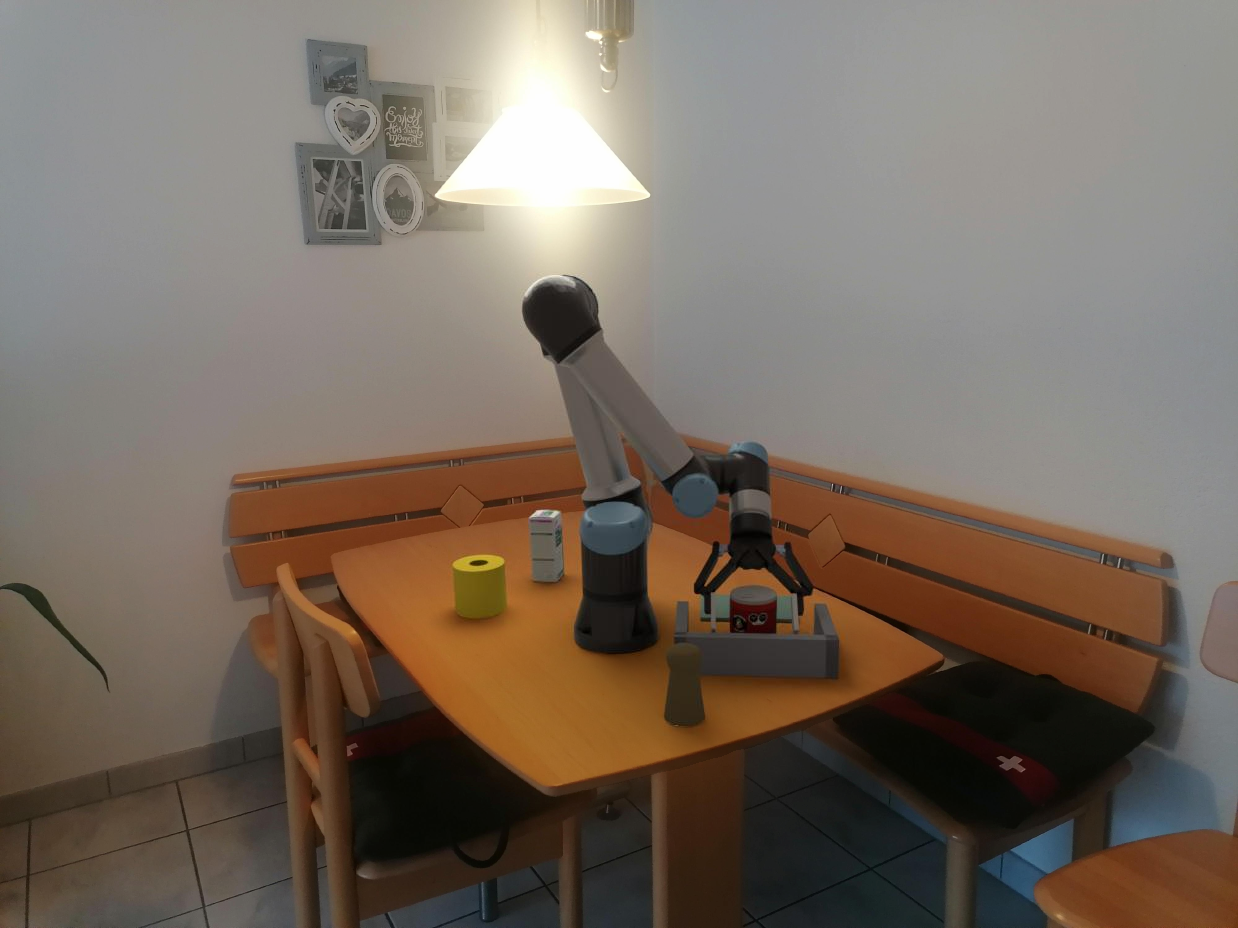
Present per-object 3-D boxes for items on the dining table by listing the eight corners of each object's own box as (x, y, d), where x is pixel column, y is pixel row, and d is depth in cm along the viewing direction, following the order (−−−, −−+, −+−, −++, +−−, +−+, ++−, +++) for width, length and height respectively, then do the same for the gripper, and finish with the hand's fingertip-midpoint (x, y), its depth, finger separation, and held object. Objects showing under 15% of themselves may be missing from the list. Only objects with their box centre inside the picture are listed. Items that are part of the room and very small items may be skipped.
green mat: (700, 620, 159) (700, 617, 159) (700, 596, 171) (700, 594, 171) (797, 622, 158) (797, 619, 157) (791, 598, 169) (791, 595, 169)
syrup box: (557, 582, 181) (555, 517, 178) (531, 581, 182) (528, 516, 179) (564, 573, 186) (562, 509, 183) (538, 572, 188) (536, 509, 184)
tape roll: (498, 595, 174) (496, 552, 172) (513, 612, 165) (510, 566, 163) (450, 604, 170) (447, 559, 168) (462, 621, 161) (459, 574, 159)
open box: (674, 674, 138) (674, 636, 137) (677, 635, 153) (677, 601, 152) (838, 678, 135) (839, 640, 134) (825, 638, 150) (826, 603, 149)
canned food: (720, 654, 145) (720, 593, 142) (748, 640, 150) (749, 581, 148) (756, 668, 139) (757, 605, 137) (785, 652, 145) (786, 591, 143)
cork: (681, 731, 120) (681, 659, 118) (655, 714, 125) (654, 645, 123) (713, 718, 124) (713, 647, 122) (686, 702, 129) (686, 634, 126)
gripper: (818, 530, 155) (828, 642, 144) (681, 530, 158) (680, 639, 146) (823, 510, 149) (833, 625, 137) (680, 510, 151) (678, 622, 140)
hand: (754, 632), depth 142 cm, fingers open, 13 cm apart
